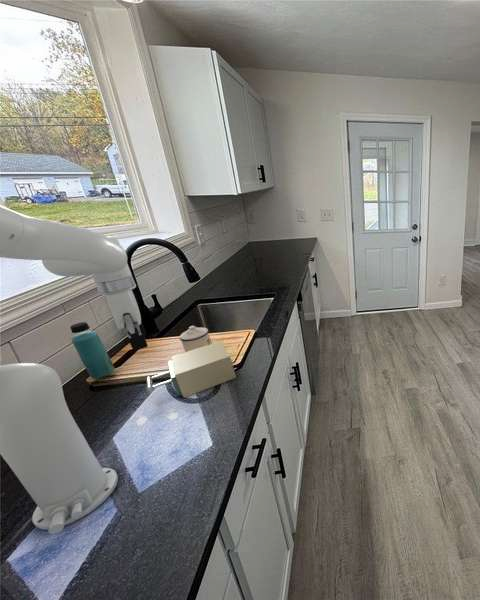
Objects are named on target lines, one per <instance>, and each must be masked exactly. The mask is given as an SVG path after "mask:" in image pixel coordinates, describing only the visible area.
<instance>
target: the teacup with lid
mask: <svg viewBox="0 0 480 600" xmlns="http://www.w3.org/2000/svg"><path fill="white" fill-rule="evenodd" d="M179 340H180V341H181V345H182V347H183V350H184V352H188V351H191V350H194V349H197V348H200V347H203V346H207V345H210V344H213V343H212V339H211V337H210V331H209V329H208V328H207V327H197V326H195V325H191V326H188V329H187V330H185V331H184V332H182V333H181V334H180V335H179Z"/></svg>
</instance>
